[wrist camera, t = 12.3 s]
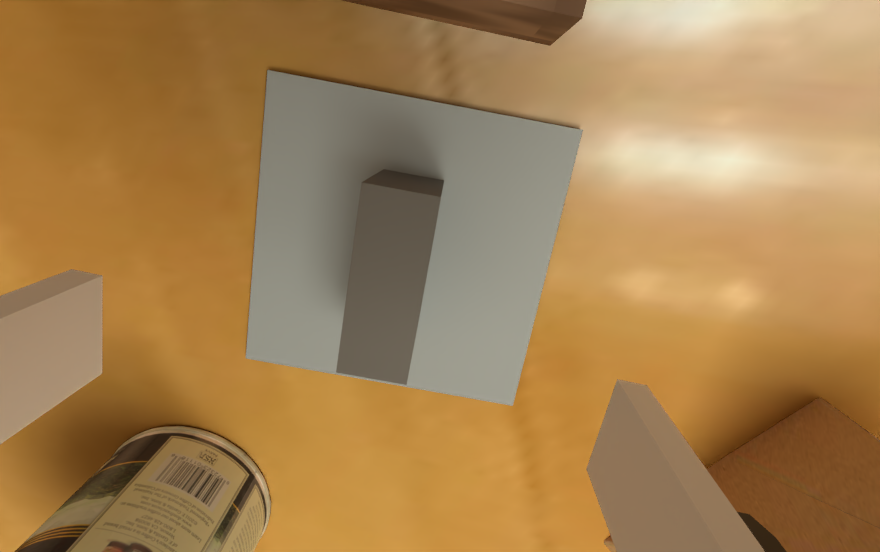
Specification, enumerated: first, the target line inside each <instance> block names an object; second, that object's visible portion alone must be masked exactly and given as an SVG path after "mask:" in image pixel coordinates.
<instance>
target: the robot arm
mask: <svg viewBox="0 0 880 552" xmlns="http://www.w3.org/2000/svg"><path fill="white" fill-rule="evenodd" d="M101 374H102V275H97V274H92V273H87V272H82V271H77V270H72V269H71V270H69V271H66V272H63V273H61V274H58V275H55V276H53V277H50V278H47V279H45V280H42V281H39V282H36V283H34V284H31V285H28V286H26V287H23V288H20V289H18V290H15V291H12V292H10V293H7V294H4V295H2V296H0V444H2V443H3V442H4V441H6V440H7V439H9V438H10V437H12V436H13V435H14V434H16V433H17V432H19V431H20V430H22V429H23V428H25V427H26V426H27V425H29V424H30V423H32V422H33V421H35V420H36V419H37V418H39V417H40V416H42V415H43V414H45V413H46V412H48V411H49V410H50V409H52V408H53V407H55V406H56V405H58V404H59V403H60V402H62V401H63V400H65V399H66V398H68V397H69V396H71V395H72V394H73V393H75V392H76V391H78V390H79V389H81V388H82V387H83V386H85V385H86V384H88V383H89V382H91V381H92V380H93V379H95V378H96V377H98V376H99V375H101ZM587 472H588V475H589V477H590V480H591V483H592V485H593V488H594V491H595V494H596V496H597V499H598V502H599V505H600V507H601V510H602V513H603V516H604V518H605V521H606V524H607V527H608V529H609V532H610V535H611V538H612V540H613V543H614V546H615V549H616V551H617V552H786V550H785V549H784V548H783V546H782V545H781V544H780V542H779V541H778V540H777V538H776V537H775V536H774V535H773V534H771V533H770V532H769V531H768V530H767V529H766V528H765V527H763V526H762V525H761V524H760V523H759V522H758V521H757V520H755V519H754V518H753V517H752V516H751V515H750V514H746V513H741V512H737V511H736V510H735V509H734V507H733V506H732V504H731V503H730V502H729V500H728V499H727V497H726V496H725V495H724V493H723V492H722V490H721V489H720V488H719V486H718V485H717V483H716V482H715V481H714V479H713V478H712V476H711V475H710V474H709V472H708V471H707V469H706V468H705V467H704V465H703V464H702V462H701V461H700V460H699V458H698V457H697V455H696V454H695V452H694V451H693V450H692V448H691V447H690V445H689V444H688V443H687V441H686V440H685V438H684V437H683V436H682V434H681V433H680V431H679V430H678V429H677V427H676V426H675V424H674V423H673V422H672V420H671V419H670V417H669V416H668V415H667V413H666V412H665V410H664V409H663V408H662V406H661V405H660V403H659V402H658V401H657V399H656V398H655V396H654V395H653V394H652V392H651V391H650V389H649V388H648V386H647V385H642V384H637V383H633V382H628V381H623V380H618V379H617V382H616V385H615V388H614V391H613V393H612V396H611V399H610V402H609V405H608V408H607V411H606V414H605V417H604V420H603V423H602V425H601V428H600V431H599V434H598V437H597V440H596V443H595V446H594V449H593V452H592V455H591V457H590V460H589V463H588V466H587Z"/></svg>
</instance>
